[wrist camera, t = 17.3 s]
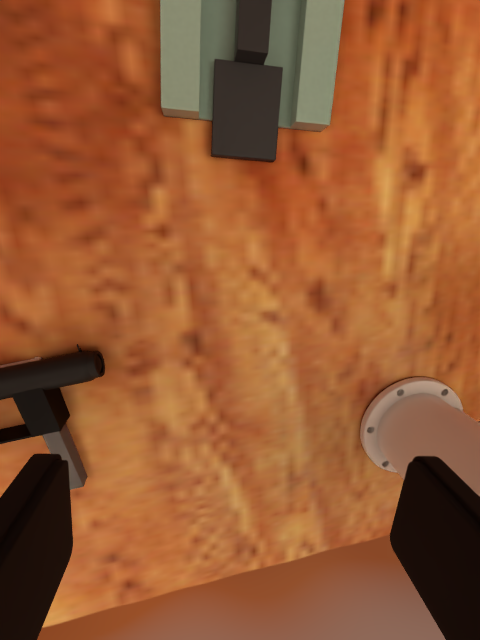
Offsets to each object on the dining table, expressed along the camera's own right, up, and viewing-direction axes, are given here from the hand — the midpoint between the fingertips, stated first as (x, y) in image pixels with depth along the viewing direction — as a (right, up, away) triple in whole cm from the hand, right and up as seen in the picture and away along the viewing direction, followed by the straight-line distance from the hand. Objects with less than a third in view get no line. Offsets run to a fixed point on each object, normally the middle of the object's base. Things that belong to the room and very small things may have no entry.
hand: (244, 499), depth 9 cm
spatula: (+1, +29, +18) cm, 34 cm away
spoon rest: (+1, +29, +18) cm, 34 cm away
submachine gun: (-23, -6, +26) cm, 35 cm away
